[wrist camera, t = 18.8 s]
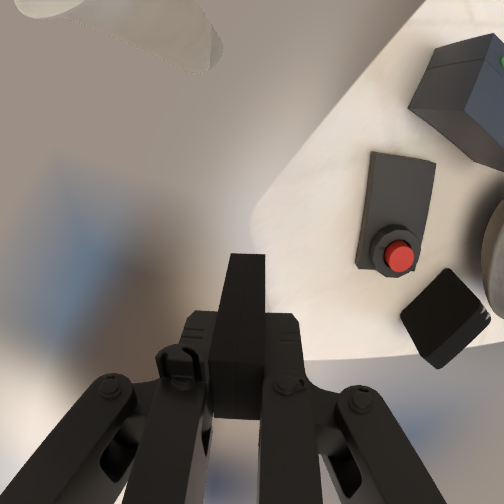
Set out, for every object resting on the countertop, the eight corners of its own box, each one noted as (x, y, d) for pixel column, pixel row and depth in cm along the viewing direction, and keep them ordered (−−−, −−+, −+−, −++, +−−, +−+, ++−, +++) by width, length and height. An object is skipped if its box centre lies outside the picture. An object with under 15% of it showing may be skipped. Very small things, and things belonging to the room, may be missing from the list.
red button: (387, 239, 34) (392, 245, 32) (411, 241, 34) (416, 247, 32) (381, 264, 35) (386, 271, 34) (405, 265, 35) (410, 272, 34)
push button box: (370, 151, 33) (381, 155, 30) (430, 161, 33) (443, 166, 30) (354, 263, 39) (361, 276, 36) (409, 266, 39) (419, 278, 36)
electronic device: (398, 314, 42) (422, 360, 33) (446, 265, 38) (482, 303, 29) (412, 327, 43) (437, 372, 34) (459, 281, 39) (493, 319, 30)
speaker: (474, 161, 32) (539, 186, 21) (407, 108, 31) (468, 110, 19) (499, 105, 29) (565, 113, 17) (435, 48, 27) (498, 31, 15)
